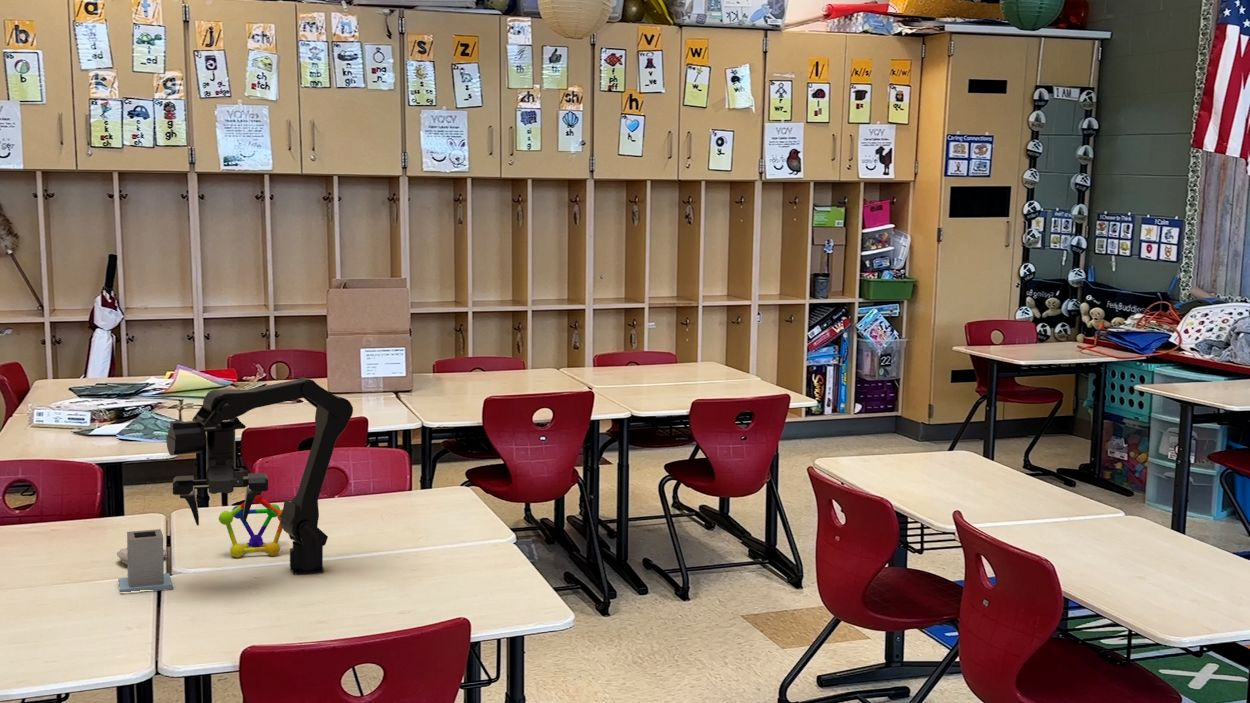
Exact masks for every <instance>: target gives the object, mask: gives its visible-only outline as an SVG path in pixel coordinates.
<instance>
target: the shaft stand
mask: <svg viewBox="0 0 1250 703" xmlns="http://www.w3.org/2000/svg"><path fill="white" fill-rule="evenodd" d="M117 580H118V581H117V583H118V582H119V584H118V588H119V587H120V589H119V593H120V592H131V591H140V590H153V591H152V592H158V591H167V590H168V591H169V590H173V589H174V584H173V581H172V578H171V575H170V573H169V572H168V573H164V584H162V585H152V586H142V587H132V588H130V587H129V584H128V576H127V577H118V578H117Z"/></svg>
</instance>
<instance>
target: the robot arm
mask: <svg viewBox="0 0 1250 703" xmlns="http://www.w3.org/2000/svg"><path fill="white" fill-rule="evenodd" d="M300 399H304V400H305V401H306V402H308V403H309V404H310V405H311V406H313V407H314V408H316V410H315V415H314V422H315V423H314V425H315V434H314V438H313V441H312V445H311V448H310V451H309V455H308V457H307V461H306V463H305V467H304V470H303V473H302V476H301V480H300V484H299V487H298V490H297V493H296V494H295V496H294V498H292V500H291V501H290V500H287V499H285V500H284V502H283V511H282V513H281V515H280V516H279V517H280V518H281V526H282V531H284V532H285V533H286V534H288V536H289V539H290V540H292V547H290V548H289V568H290V570H291V571H292V574H293V575H302V574H303V575H304V574H305V575H306V574H318V573H319V574H321V573H324V572H325V570H324V567H323V565H324V563H323V560H324V557H323V555H324V554H323V553H324V552H323V550H324V549H323V548H324V546H326V544H327V541H328V537H329V536H328V535H327V534H326V533H325V532H323V531H322V530H321V529H320V528H319V527H318V526H319V517H320V511H319V497H320V494H321V491H322V488H323V486H324V485H323V484H324V482H325V478H326V475H327V473H328V472H327V471H328V468H329V466H330V463H331V459H332V456H333V453H334V448H335V446H336V442H337V440H338V438H339V437H340V435H341V434H342V433H343V432H344V430H345V429H346V428H347V426H348V424H349V422H350V420H351V419H352V417H353V413H354V412H353V411H354V407H353V405H352V403H351V402H350V401H349V400H348V399H347V398H344V397H342V396H339V395H335V394H334V393H333V394H332V393H331V392H330V391H328V390H327V389H325V388H323V387H321V386H320V385H319V384H317V382H315V380H313V379H310V378H306V377H299V378H297V379H294V380H293V379H292V380H288V381H284V382H283V381H282V382H278V383H272V384H268V385H264V386H263V385H262V386H259V387H258V386H257V387H254V388H249V389H248V388H247V389H236V388H235V389H232V388H226V389H225V388H221V389H212V390H210V391H208V392H207V393H206V395H205V397H204V398H203V401H202V405H201V406H200V408H199V410H198V411H197V412H196V414H195V415H194V416H193V418H192V419H191V420H190V421H189V420H188V421H178V420H177V421H170V423H169V424H170V425H169V426H170V427H169V428H168V431H167V435H166V438H165V439H166V448H167V451H168V454H169V456H178V455H179V456H180V455H190V454H192V455H193V454H200V453H201V452H202V450H205V448H206V458H205V460H206V466H205V467H206V468H205V469H206V470H205V479H194V478H195V477H194V475H176V476H175V477H174V478H173V481H172V495H175V496H179V498H180V499H185V501H186V502H187V504H188V505H189V508H190V510H191V513H192V516H193V519H194V521H195V524H196V526H199V525H200V515H199V507H198V500H197V493H196V490H201V489H202V490H204V489H205V490H206V489H208V493H209V494H211V495H216V494H220V493H221V494H222V493H224V494H231V493H233V492H234V491H235V490H234V488H246V489H245V498H244V502H245V504H244V512H243V523H245V522H246V521H247V519H248V515H249V514H248V513H249V510H250V509H251V506H252V505H253V504H254V503H253V501H254V499H255V497H256V496H257V495H261V494H262V495H263V492H267V491H269V479H268V474H266V472H255V473H253V472H252V473H247V477H244V468H243V467H236V430H244V429H246V427H247V426H246V424H244V423H243V422H241V420H240V419H239V417H241V416H242V415H245V414H246V413H248V412H250V411H252V410H254V409H257V408H262V407H266V406H271V405H276V404H282V403H285V402H291V401H295V400H300ZM243 523H242V524H243Z"/></svg>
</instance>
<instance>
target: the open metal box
mask: <svg viewBox="0 0 1250 703" xmlns="http://www.w3.org/2000/svg"><path fill="white" fill-rule="evenodd" d="M126 542H127V543H126V545H127V546H126V547H127V563H128V565H127V577H128V584H129V587H130V588H132V587H142V586H152V585H162V584H164V574H165V572H164V558H163V549H164V534H163V531H162V530H161V528H160V529H145V530H134V531H126Z"/></svg>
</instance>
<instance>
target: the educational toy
mask: <svg viewBox="0 0 1250 703" xmlns="http://www.w3.org/2000/svg"><path fill="white" fill-rule="evenodd" d="M263 496H264V495H263V493H262V494H261V495H257V496H256V497H255V499H254V501H253V503H252V504H254V505H255V504H260V505H262V506H263V507H264V508H253V509H252V508H250V510H249V513H248V515H253V514H256V515H259V514H266V515H267V517H266V519H265V520H264V522H263V524H262V525H261V527H260V529H259V531H258V532H257V534H255V533H254V531H253V529H252V528H251V526H250V524H249V522H248V520H246V522H245V523H243V512H244V504H245V501H244V502H243V503H241V504H239V505H235V506H234V507H233V508H232V510H231V511H229V510H224V511H222V512H221V513H220V514H219V516H218V522H219V523H220V524H221V525H224V526H225V527H226V530H227V532H228V535H229V538H230V541H231V545H232V546H231V547H230V549H229V553H230V555H231V556H232V557H233V558H240V557H242V556H243V555H244V554H245V553H261V552H265V553H267V555H269V556H271V557H275V556H277V555H278V554H280V552H281V547H280V544H279V540H280V537H281V534H282V531H283V528H282V526H281V518H280V517H279V516H280V515H281V513H282V511H283V509H281V508H280V506H279V505H278V504H275V503H273V504H271V503H270V502H268V501H267V500H265V499H264V498H263ZM234 518H235V519H236V520H240V521H241V523H242V525H243V526H244V528H245V530H246V531H247V532H246V533H248V534H249V540H248V542H247V543H245V544H243V545H242V544H240V543H238V541H237V538H236V536H235V533H234V529H233V526H232V522H233V520H234ZM272 518H277V519H278V521H279V523H278V527H277V529H276V532H275V534H274V535H275V536H274V538H273V541H272V542H269V543H266V542H264V540H263V537H262V536H263V535H264V532H265V531H266V530H267V527H268V525H269V523H270V522H271V520H272Z"/></svg>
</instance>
